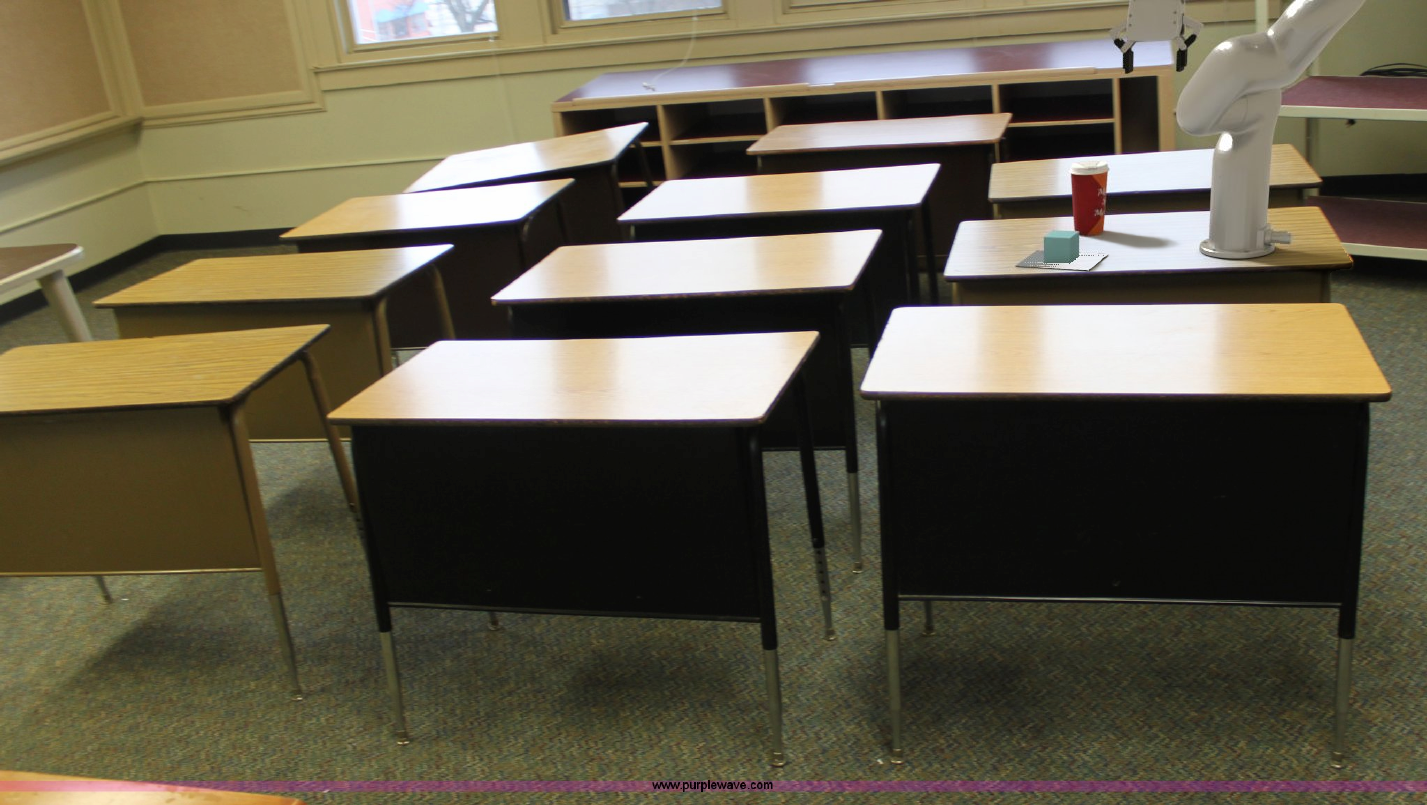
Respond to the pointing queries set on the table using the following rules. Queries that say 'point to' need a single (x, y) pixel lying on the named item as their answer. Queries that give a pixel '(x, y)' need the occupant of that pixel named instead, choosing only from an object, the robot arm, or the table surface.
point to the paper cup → (1089, 196)
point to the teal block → (1061, 246)
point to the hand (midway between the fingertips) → (1154, 71)
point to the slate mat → (1036, 260)
